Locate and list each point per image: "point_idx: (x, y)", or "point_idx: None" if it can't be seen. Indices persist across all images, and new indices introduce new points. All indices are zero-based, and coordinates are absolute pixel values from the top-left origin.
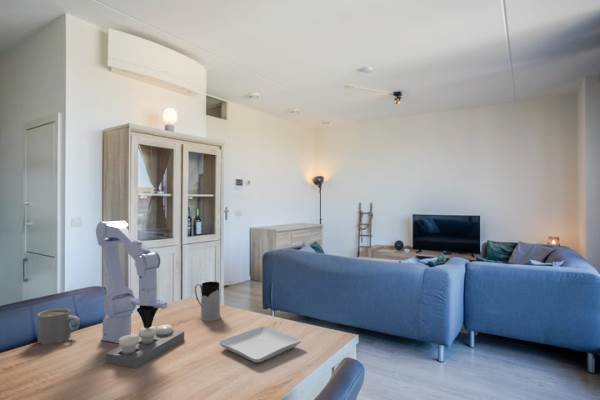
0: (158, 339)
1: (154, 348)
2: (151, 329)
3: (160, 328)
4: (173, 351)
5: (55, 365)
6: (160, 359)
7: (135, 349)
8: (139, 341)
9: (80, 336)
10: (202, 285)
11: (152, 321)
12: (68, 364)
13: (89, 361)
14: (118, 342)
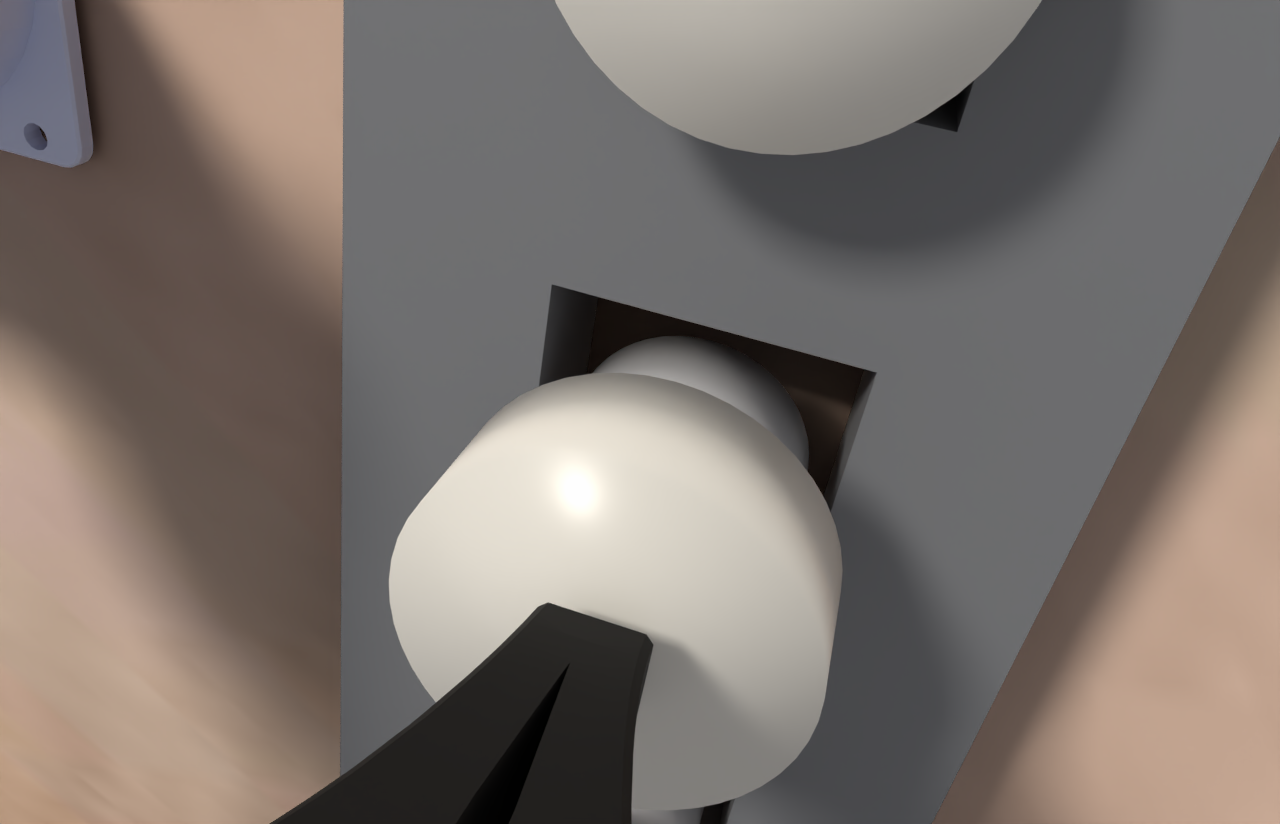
0: (859, 350)
1: (973, 732)
2: (720, 691)
3: (705, 15)
4: (1272, 412)
5: (11, 722)
6: (1108, 689)
7: (687, 814)
8: None
9: None
10: None
11: (632, 744)
12: (91, 715)
13: (214, 673)
14: (49, 158)
